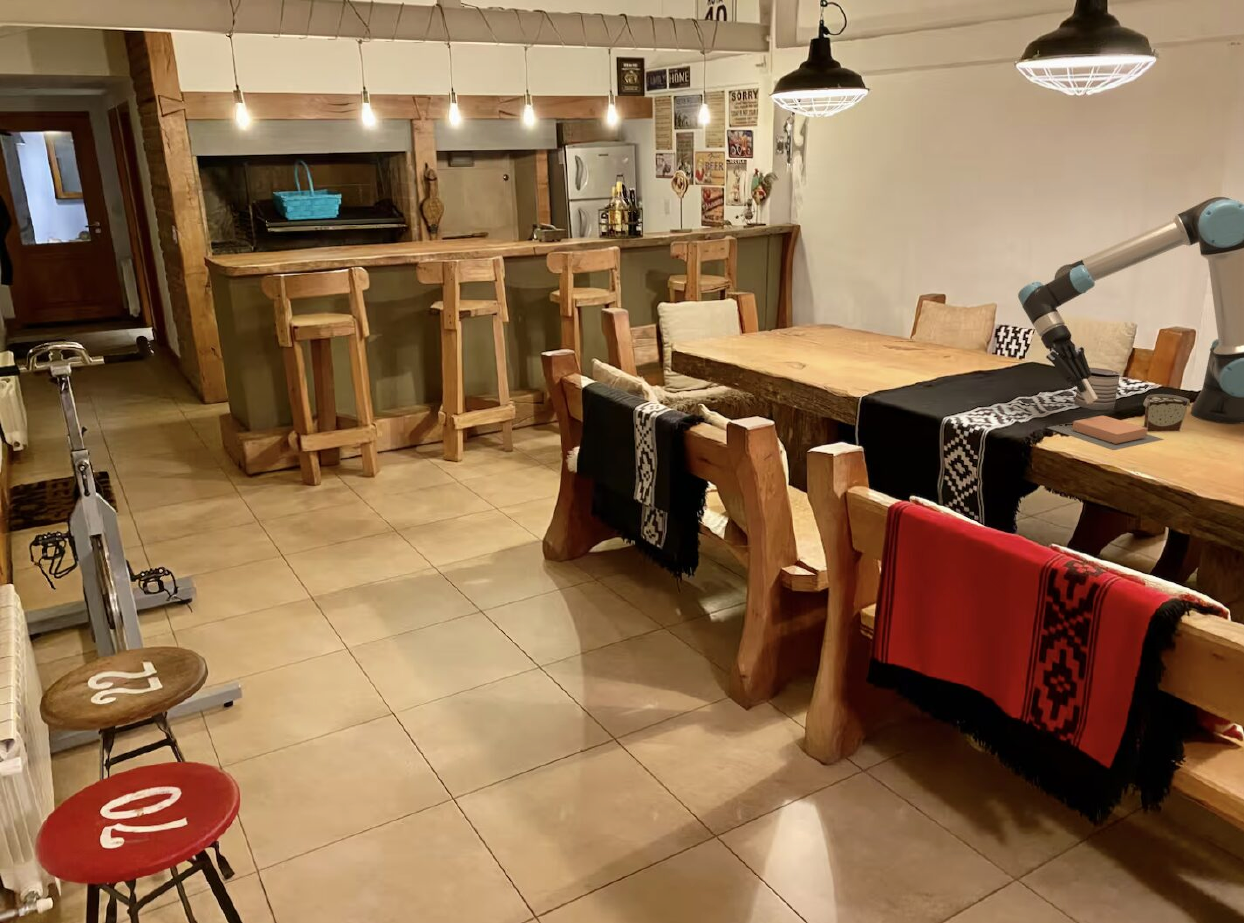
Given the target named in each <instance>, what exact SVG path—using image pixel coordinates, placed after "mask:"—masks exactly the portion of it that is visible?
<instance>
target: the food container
mask: <svg viewBox="0 0 1244 923" xmlns="http://www.w3.org/2000/svg"><path fill="white" fill-rule="evenodd" d="M1142 404H1143V406H1144V407H1145V409H1144V410H1145V411H1144V423H1143V427H1145V428H1148V430H1147V432H1180V431H1181V429H1182V426H1183V422H1184V419H1185V415H1186V412H1187V409H1188V407H1191V402H1190V398H1186V397H1183V396H1179V395H1173V394H1165V393H1162V394H1161V393H1160V394H1159V393H1157V394H1149V395H1146V398H1145V399H1144V401H1143V403H1142Z"/></svg>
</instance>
